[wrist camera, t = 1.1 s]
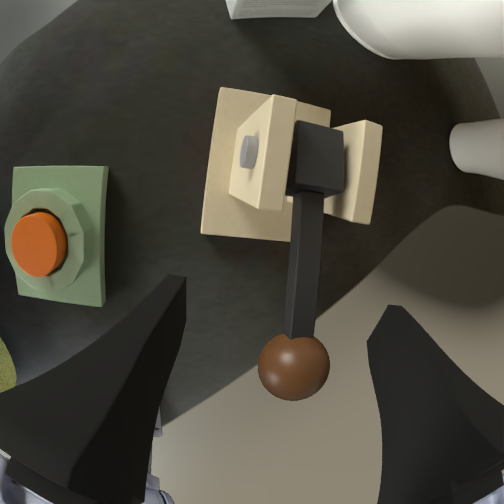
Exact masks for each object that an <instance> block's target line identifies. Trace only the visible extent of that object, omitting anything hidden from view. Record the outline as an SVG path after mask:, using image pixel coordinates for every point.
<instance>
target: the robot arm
mask: <svg viewBox="0 0 504 504" xmlns="http://www.w3.org/2000/svg"><path fill="white" fill-rule="evenodd" d="M185 323H186V277H183V276H177V275H171V274H168V275H167V276H165V277H164V278H163V279H162V280H161V282H160V283H159V284H158V285H157V286H156V287H155V288H154V289H153V290H152V291H151V292H150V293H149V294H148V295H147V296H146V297H145V298H144V299H143V300H142V301H141V302H140V303H138V304H137V305H136V306H135V307H134V308H133V309H132V310H131V311H130V312H129V313H128V314H127V315H126V316H125V317H123V318H122V319H121V320H120V321H119V322H118V323H116V324H115V325H114V326H113V327H112V328H111V329H109V330H108V331H107V332H106V333H105V334H103V335H102V336H101V337H100V338H98V339H97V340H96V341H94V342H93V343H92V344H90V345H89V346H87V347H86V348H85V349H83V350H82V351H80V352H79V353H77V354H76V355H74V356H73V357H71V358H70V359H68V360H67V361H65V362H63V363H62V364H60V365H58V366H57V367H55V368H53V369H51V370H49V371H47V372H46V373H44V374H42V375H40V376H38V377H36V378H34V379H32V380H30V381H28V382H26V383H24V384H21V385H19V386H16V387H14V388H11V389H9V390H6V391H3V392H1V393H0V449H1V450H3V451H4V452H6V453H7V454H9V455H10V456H11V458H10V459H8V458H6V457H4V456H2V455H1V454H0V504H174V501H173V500H172V498H171V496H170V495H169V494H168V493H166V492H165V491H161V490H159V478H157V477H155V476H153V475H151V458H152V441H153V437H160V436H162V425H161V416H160V403H161V400H162V396H163V393H164V390H165V388H166V385H167V382H168V379H169V376H170V373H171V370H172V368H173V365H174V362H175V359H176V356H177V353H178V351H179V348H180V345H181V340H182V336H183V332H184V327H185ZM367 349H368V359H369V367H370V371H371V375H372V380H373V384H374V389H375V393H376V398H377V403H378V408H379V412H380V419H381V427H382V474H381V485H380V491H379V497H378V503H377V504H504V474H503V475H502V472H501V471H502V470H503V469H504V405H502V404H501V403H500V402H498V401H497V400H495V399H494V398H493V397H491V396H490V395H489V394H487V393H486V392H485V391H484V390H483V389H481V388H480V387H479V386H478V385H477V384H476V383H474V382H473V381H472V380H471V379H470V378H469V377H468V376H467V375H466V374H465V373H464V372H463V371H462V370H461V369H460V368H459V367H458V366H457V365H456V364H455V363H454V362H453V361H452V360H451V359H450V358H449V357H448V356H447V355H446V354H445V352H444V351H443V350H442V349H441V348H440V347H439V346H438V345H437V343H436V342H435V341H434V340H433V339H432V338H431V337H430V336H429V334H428V333H427V332H426V331H425V330H424V329H423V328H422V327H421V325H420V324H419V323H418V322H417V321H416V320H415V319H414V318H413V317H412V316H411V315H410V314H409V313H408V312H407V311H406V310H405V309H404V308H403V307H402V306H397V305H388V306H387V308H386V310H385V312H384V313H383V315H382V317H381V319H380V321H379V322H378V324H377V325H376V327H375V329H374V330H373V332H372V334H371V335H370V337H369V339H368V340H367ZM156 427H157V428H156Z"/></svg>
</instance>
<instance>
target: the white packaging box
mask: <svg viewBox="0 0 504 504" xmlns="http://www.w3.org/2000/svg"><path fill="white" fill-rule="evenodd" d="M331 1H332V0H226V3H227V7H228V11H229V14H230V18H231V19H244V18H265V17H302V18H315V17H317V16H318V15H319V14H320V13H321V12H322V10H323V9H324V8H325V7H326V6H327V5H328V4H329V3H330V2H331Z"/></svg>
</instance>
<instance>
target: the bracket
mask: <svg viewBox="0 0 504 504" xmlns="http://www.w3.org/2000/svg"><path fill="white" fill-rule="evenodd" d="M330 116H331V110H328V109H324V108H321V107H317V106H313V105H310V104H306V103H302V102H298V101H297V100H296V99H292V98H287V97H283V96H278V95H272V96H271V95H266V94H260V93H255V92H249V91H243V90H237V89H230V88H223V87H221V88H220V91H219V95H218V101H217V107H216V114H215V120H214V127H213V133H212V140H211V147H210V154H209V162H208V170H207V177H206V186H205V194H204V203H203V212H202V222H201V233H202V234H210V235H221V236H233V237H244V238H255V239H266V240H277V241H288V242H290V238H291V222H292V206H293V197H291V196H285V191H286V184H287V176H288V169H289V162H290V154H291V147H292V139H293V132H294V124H295V122H296V121H297V120H302V121H306V122H310V123H314V124H318V125H322V126H326V127H329V126H330ZM333 129H337V130H340V131H343V133H344V192H342V193H339V194H336V195H333V196H330V197H328V198H325V199H324V213H326V214H330V215H333V216H336V217H339V218H342V219H345V220H348V221H351V222H356V223H362V224H370V221H371V215H372V209H373V203H374V197H375V190H376V183H377V176H378V168H379V160H380V150H381V140H382V129H383V127H382V126H381V125H378V124H376V123H373V122H370V121H367V120H362V121H358V122H354V123H350V124H346V125H343V126H339V127H335V128H333Z"/></svg>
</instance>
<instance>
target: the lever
mask: <svg viewBox="0 0 504 504" xmlns="http://www.w3.org/2000/svg"><path fill="white" fill-rule="evenodd" d="M342 192H344V133H343V131H340V130H337V129H333V128H329V127H326V126H322V125H318V124H314V123H310V122H306V121H302V120H297V121H296V122H295V124H294V132H293V139H292V147H291V154H290V162H289V169H288V176H287V184H286V191H285V196H291V197H293V206H292V222H291V238H290V252H289V265H288V278H287V290H286V302H285V312H284V323H283V333H282V334H280V335H277V336H276V337H274V338H273V339H271V340H270V341H269V342H268V343H267V344H266V345H265V347H264V348H263V350H262V352H261V354H260V357H259V361H258V373H259V377H260V380H261V382H262V384H263V385H264V387H265V388H266V389H267V390H268V391H269V392H270V393H271V394H272V395H274V396H276V397H278V398H280V399H283V400H289V401H297V400H302V399H305V398H308V397H310V396H312V395H313V394H315V393H316V392H318V391H319V390H320V388H322V386H323V385H324V383H325V382H326V380H327V377H328V374H329V370H330V360H329V356H328V353H327V350H326V348H325V347H324V346H323V344H322V343H321V342H320V341H319V340H318V339H316V338H315V337H314V336H313V334H314V327H315V318H316V309H317V299H318V288H319V277H320V264H321V251H322V235H323V215H324V199H325V198H328V197H330V196H333V195H336V194H339V193H342Z"/></svg>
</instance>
